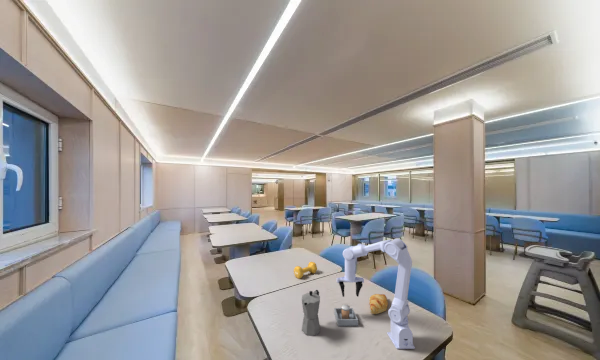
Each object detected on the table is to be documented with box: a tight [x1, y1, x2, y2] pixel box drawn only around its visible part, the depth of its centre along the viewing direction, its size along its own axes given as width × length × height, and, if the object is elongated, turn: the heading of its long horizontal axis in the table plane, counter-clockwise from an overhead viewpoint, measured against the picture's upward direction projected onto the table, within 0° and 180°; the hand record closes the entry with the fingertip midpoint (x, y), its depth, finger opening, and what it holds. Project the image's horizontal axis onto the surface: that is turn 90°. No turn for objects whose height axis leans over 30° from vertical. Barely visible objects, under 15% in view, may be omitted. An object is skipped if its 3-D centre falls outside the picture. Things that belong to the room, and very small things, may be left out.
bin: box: [333, 307, 359, 327], centre depth 105 cm, size 10×10×3 cm
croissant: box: [368, 293, 389, 315], centre depth 117 cm, size 21×10×8 cm, turn 142°
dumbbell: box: [293, 261, 318, 280], centre depth 159 cm, size 19×9×8 cm, turn 129°
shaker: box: [340, 304, 350, 319], centre depth 105 cm, size 4×4×6 cm
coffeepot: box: [301, 289, 321, 337], centre depth 99 cm, size 15×9×18 cm, turn 151°
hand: (350, 295), depth 110 cm, fingers open, 7 cm apart
